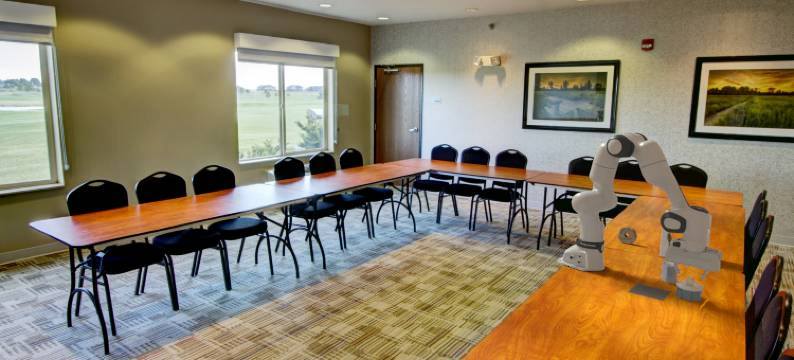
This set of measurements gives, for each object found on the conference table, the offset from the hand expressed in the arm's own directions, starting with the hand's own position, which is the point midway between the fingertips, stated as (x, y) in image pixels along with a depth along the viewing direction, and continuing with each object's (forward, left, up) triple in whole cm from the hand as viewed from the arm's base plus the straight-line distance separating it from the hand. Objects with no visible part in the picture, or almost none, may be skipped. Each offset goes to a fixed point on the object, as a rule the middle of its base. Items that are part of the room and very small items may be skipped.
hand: (690, 276), depth 215 cm
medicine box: (-12, +16, -10) cm, 22 cm away
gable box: (-17, +64, -10) cm, 67 cm away
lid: (0, 0, -5) cm, 5 cm away
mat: (-14, -5, -10) cm, 18 cm away
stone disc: (-48, +69, -10) cm, 84 cm away
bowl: (0, 0, -10) cm, 10 cm away
